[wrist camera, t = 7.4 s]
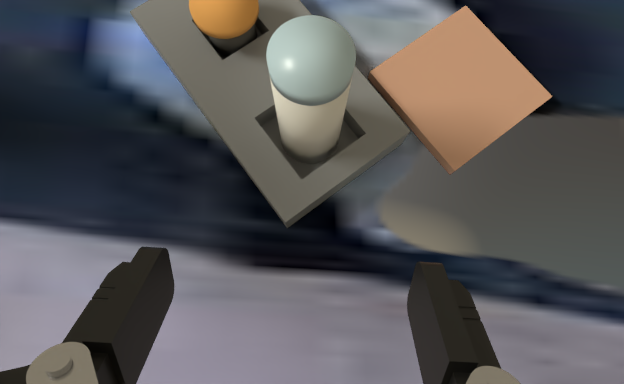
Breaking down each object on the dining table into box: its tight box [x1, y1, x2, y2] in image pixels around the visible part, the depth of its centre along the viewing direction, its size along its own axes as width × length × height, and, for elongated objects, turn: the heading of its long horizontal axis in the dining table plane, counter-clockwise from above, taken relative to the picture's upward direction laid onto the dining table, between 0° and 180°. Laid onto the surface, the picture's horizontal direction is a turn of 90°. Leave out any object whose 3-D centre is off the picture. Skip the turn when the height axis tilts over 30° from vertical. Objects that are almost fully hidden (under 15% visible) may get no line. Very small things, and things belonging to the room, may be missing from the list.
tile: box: [368, 6, 552, 175], centre depth 34 cm, size 11×11×1 cm
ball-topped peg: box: [266, 15, 356, 164], centre depth 27 cm, size 5×5×12 cm
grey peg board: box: [130, 0, 410, 228], centre depth 33 cm, size 12×22×3 cm, turn 37°
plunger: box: [189, 0, 259, 57], centre depth 32 cm, size 5×5×4 cm
